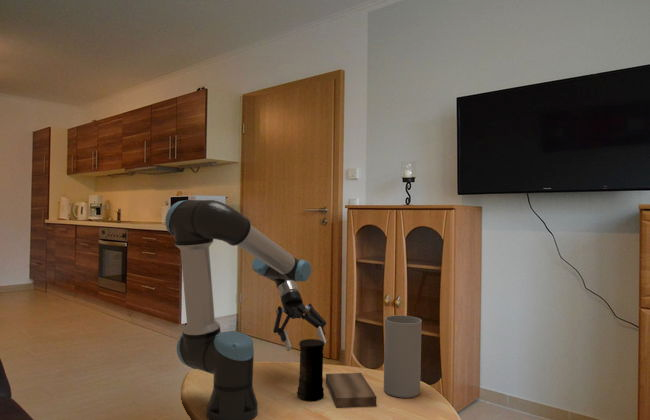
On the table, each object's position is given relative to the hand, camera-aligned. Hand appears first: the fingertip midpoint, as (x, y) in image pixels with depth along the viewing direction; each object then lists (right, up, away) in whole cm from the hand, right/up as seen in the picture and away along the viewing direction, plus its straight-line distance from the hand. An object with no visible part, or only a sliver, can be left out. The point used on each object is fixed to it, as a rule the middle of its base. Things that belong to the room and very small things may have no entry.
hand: (307, 346), depth 158 cm
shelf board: (+15, -15, -3) cm, 21 cm away
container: (+1, -15, -6) cm, 16 cm away
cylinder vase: (+33, -16, 0) cm, 36 cm away
